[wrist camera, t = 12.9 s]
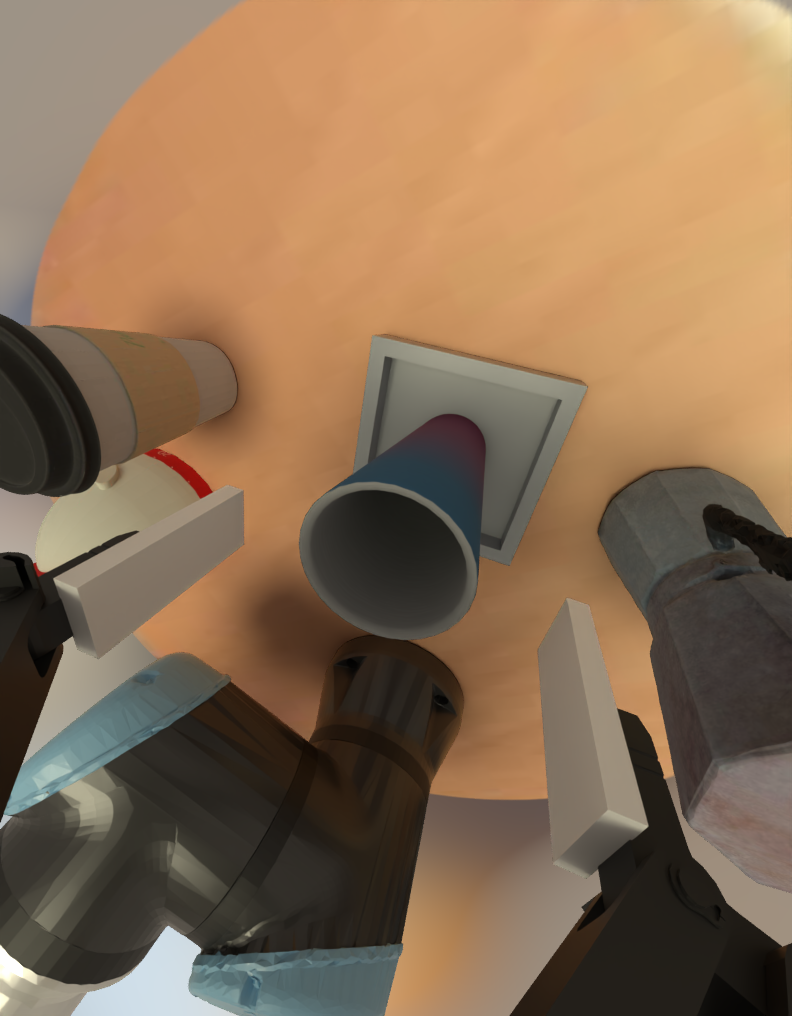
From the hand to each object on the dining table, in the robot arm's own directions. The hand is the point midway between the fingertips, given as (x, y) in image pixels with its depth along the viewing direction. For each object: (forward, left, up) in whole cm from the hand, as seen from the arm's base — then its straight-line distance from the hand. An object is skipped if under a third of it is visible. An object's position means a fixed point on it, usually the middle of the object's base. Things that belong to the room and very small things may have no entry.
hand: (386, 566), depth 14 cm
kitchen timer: (-15, +27, -15) cm, 34 cm away
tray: (0, 0, -15) cm, 15 cm away
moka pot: (-1, -15, -15) cm, 22 cm away
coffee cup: (0, +21, -15) cm, 26 cm away
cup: (+1, 0, -14) cm, 14 cm away
